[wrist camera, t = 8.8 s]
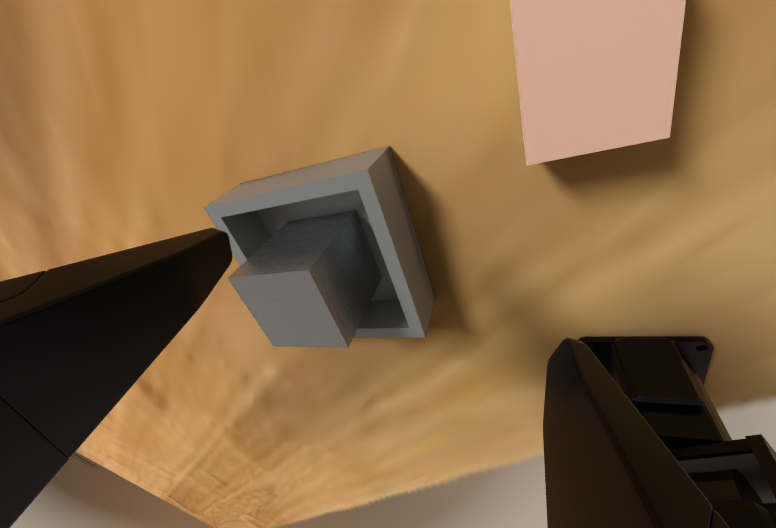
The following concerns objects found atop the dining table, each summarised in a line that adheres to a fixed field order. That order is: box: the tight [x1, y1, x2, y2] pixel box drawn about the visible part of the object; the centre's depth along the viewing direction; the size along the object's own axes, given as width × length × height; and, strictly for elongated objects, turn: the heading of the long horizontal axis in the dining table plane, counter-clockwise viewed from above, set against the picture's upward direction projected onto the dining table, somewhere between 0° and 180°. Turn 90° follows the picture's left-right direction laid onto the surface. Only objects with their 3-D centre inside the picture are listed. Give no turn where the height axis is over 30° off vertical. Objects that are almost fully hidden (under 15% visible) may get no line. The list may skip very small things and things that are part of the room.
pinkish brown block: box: [510, 0, 686, 166], centre depth 12 cm, size 6×4×4 cm
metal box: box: [228, 210, 382, 348], centre depth 19 cm, size 5×5×6 cm
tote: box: [203, 146, 435, 338], centre depth 21 cm, size 11×11×4 cm
